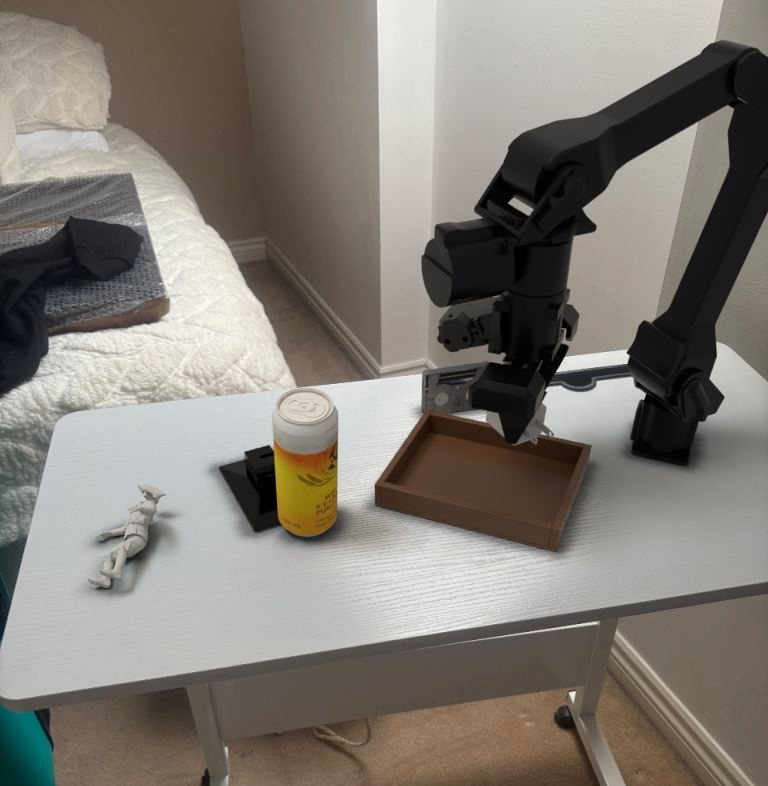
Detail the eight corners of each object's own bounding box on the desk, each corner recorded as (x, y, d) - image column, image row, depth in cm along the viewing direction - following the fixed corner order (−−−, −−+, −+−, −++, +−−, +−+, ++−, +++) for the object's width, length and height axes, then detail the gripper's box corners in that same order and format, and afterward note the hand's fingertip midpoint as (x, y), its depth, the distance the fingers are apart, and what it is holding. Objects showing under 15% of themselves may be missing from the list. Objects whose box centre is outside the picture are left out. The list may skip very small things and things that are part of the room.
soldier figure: (72, 591, 80) (102, 488, 87) (118, 608, 83) (144, 507, 89) (109, 566, 75) (138, 458, 82) (157, 584, 78) (181, 479, 84)
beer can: (328, 545, 84) (329, 431, 73) (270, 534, 84) (262, 419, 74) (343, 504, 88) (345, 390, 77) (287, 494, 89) (282, 380, 78)
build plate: (318, 514, 88) (315, 479, 85) (252, 535, 85) (247, 500, 82) (276, 452, 96) (273, 419, 93) (216, 469, 94) (210, 435, 91)
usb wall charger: (515, 413, 88) (521, 382, 85) (557, 449, 83) (564, 416, 81) (485, 424, 86) (489, 392, 84) (525, 461, 82) (532, 428, 79)
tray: (588, 465, 94) (592, 444, 92) (555, 552, 83) (559, 530, 81) (425, 429, 100) (426, 409, 98) (374, 505, 88) (374, 484, 87)
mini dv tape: (483, 401, 104) (486, 359, 101) (487, 407, 103) (491, 365, 99) (421, 411, 103) (422, 368, 99) (424, 417, 102) (426, 374, 98)
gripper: (480, 235, 84) (471, 370, 94) (415, 312, 71) (413, 460, 81) (590, 251, 81) (568, 389, 91) (543, 335, 68) (524, 486, 78)
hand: (518, 427), depth 85 cm, fingers closed on usb wall charger, 5 cm apart
